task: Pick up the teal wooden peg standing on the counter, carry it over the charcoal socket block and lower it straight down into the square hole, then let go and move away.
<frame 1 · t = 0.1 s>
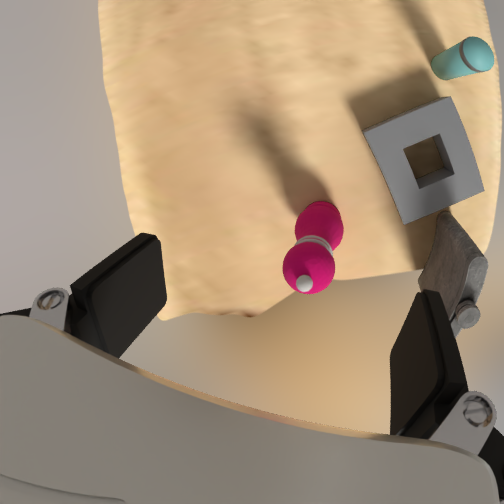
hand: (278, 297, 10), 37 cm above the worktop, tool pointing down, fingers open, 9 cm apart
socket block: (421, 155, 37), on the worktop
flask: (437, 250, 43), on the worktop
pepper mill: (322, 218, 47), on the worktop
peg: (443, 67, 30), on the worktop
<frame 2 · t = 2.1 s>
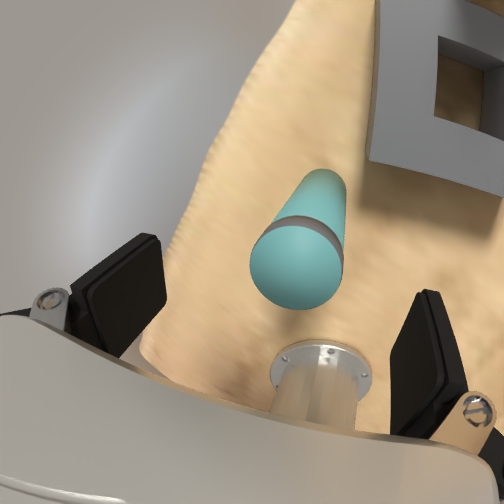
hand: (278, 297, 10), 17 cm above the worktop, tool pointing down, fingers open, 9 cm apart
socket block: (452, 91, 17), on the worktop
peg: (323, 191, 25), on the worktop
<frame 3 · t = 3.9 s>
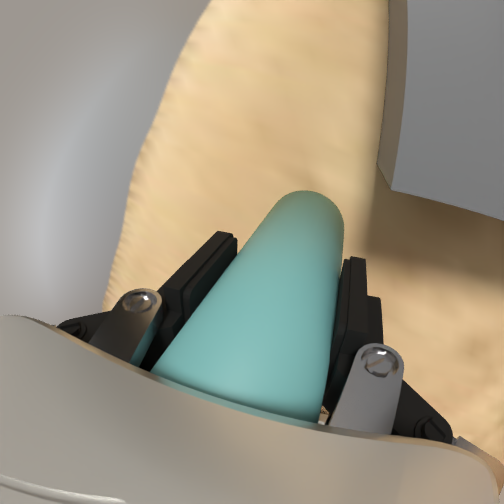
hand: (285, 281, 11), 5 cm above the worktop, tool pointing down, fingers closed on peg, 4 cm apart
peg: (306, 227, 15), on the worktop, touching gripper
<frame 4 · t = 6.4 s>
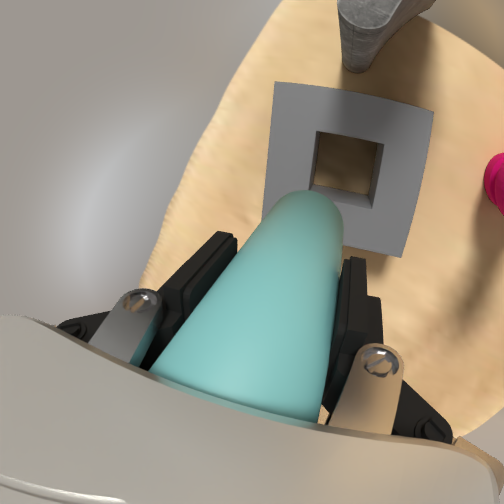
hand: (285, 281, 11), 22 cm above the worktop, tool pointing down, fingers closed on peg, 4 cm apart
socket block: (345, 162, 29), on the worktop
flask: (386, 24, 21), on the worktop
pepper mill: (503, 179, 23), on the worktop
peg: (305, 227, 15), point 17 cm above the worktop, touching gripper
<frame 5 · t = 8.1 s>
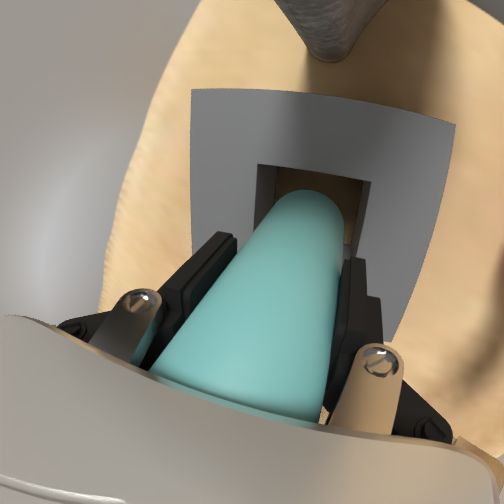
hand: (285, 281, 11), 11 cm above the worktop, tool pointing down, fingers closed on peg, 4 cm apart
socket block: (316, 199, 20), on the worktop
peg: (306, 226, 15), point 6 cm above the worktop, touching gripper
when the fingers open (6 cm above the worktop, at t = 9.3 s): peg stays where it is, resting in socket block.
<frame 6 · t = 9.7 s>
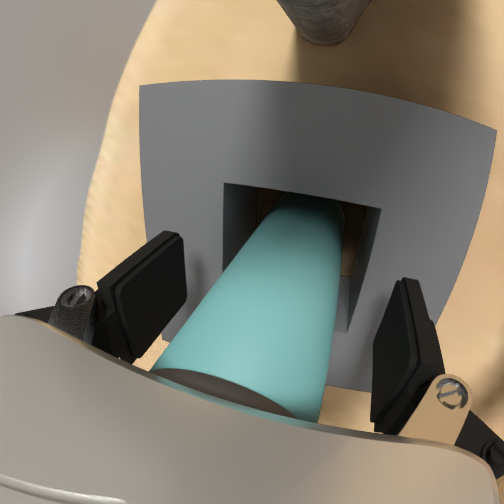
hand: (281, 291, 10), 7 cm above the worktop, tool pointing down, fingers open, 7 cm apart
socket block: (308, 221, 16), on the worktop
peg: (308, 220, 16), resting in socket block
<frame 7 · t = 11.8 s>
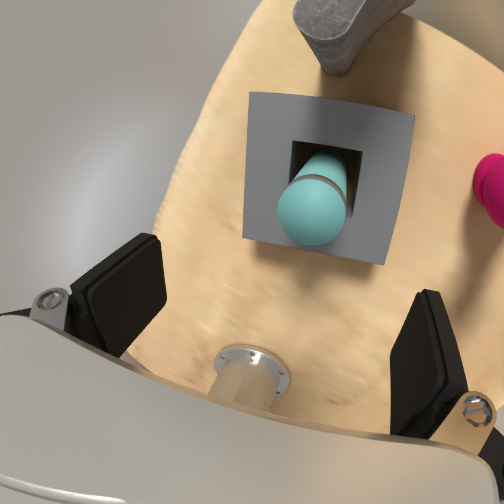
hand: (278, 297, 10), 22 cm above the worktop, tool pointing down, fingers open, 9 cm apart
socket block: (327, 168, 29), on the worktop
flask: (367, 24, 21), on the worktop
pepper mill: (494, 181, 23), on the worktop
peg: (327, 168, 29), resting in socket block
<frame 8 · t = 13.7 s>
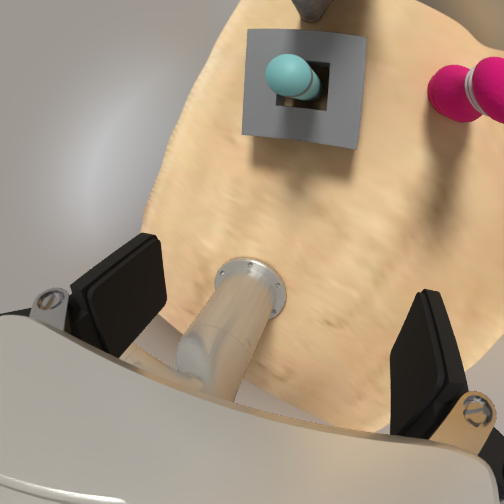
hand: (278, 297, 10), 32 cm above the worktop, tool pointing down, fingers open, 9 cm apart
socket block: (308, 87, 34), on the worktop
pepper mill: (447, 94, 28), on the worktop
peg: (308, 87, 34), resting in socket block
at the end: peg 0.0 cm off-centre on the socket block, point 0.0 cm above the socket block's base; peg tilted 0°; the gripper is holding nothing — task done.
